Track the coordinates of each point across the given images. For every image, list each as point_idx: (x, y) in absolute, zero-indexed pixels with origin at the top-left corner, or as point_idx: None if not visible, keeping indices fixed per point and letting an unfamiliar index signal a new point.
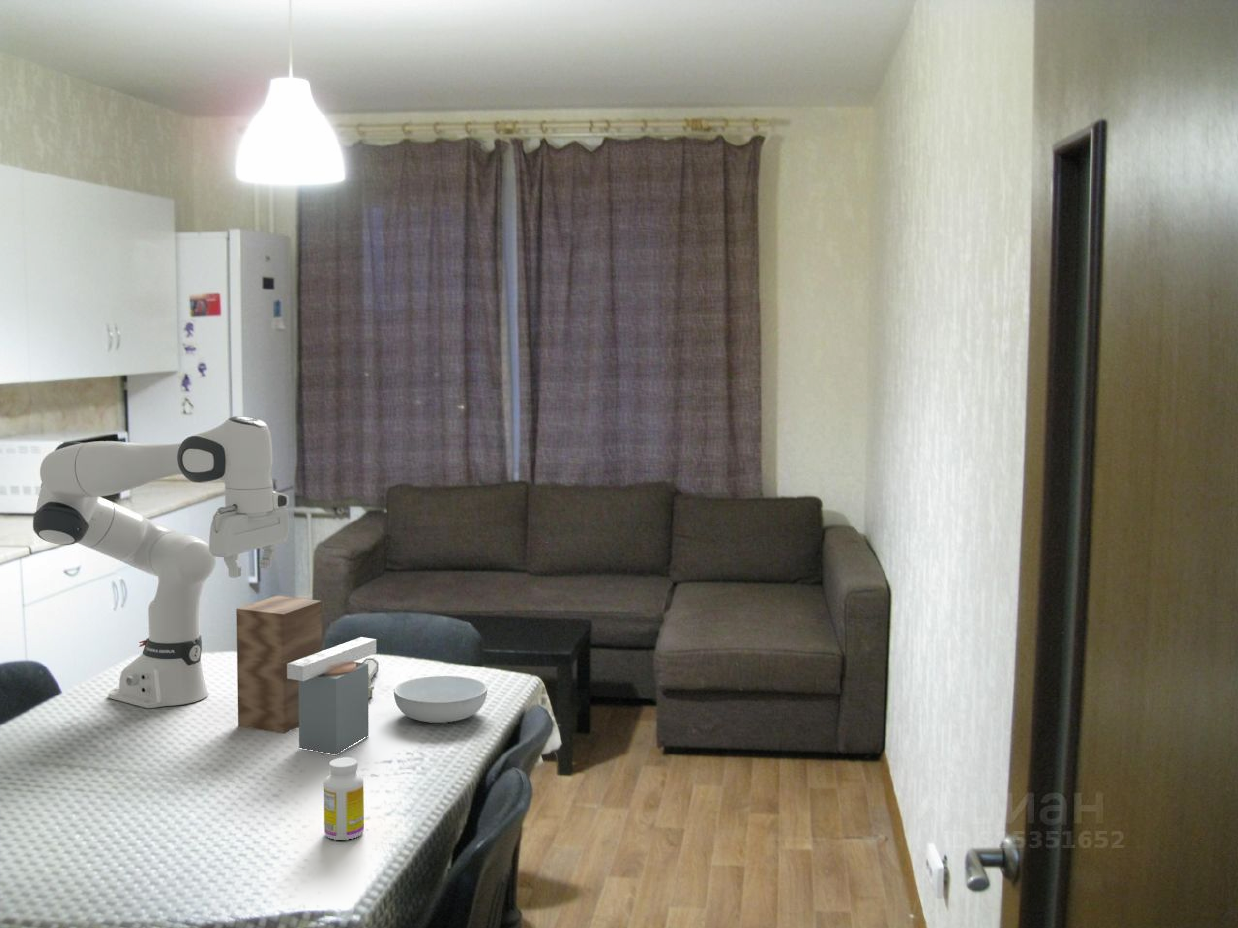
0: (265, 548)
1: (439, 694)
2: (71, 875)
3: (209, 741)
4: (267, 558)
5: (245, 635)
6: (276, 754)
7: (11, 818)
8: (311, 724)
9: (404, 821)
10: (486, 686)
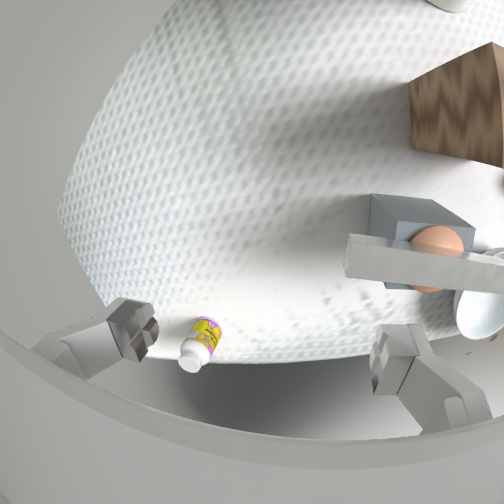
0: (431, 422)
1: None
2: (85, 202)
3: (351, 78)
4: (402, 386)
5: (468, 72)
6: (347, 177)
7: (115, 82)
8: (376, 220)
9: (247, 352)
10: (496, 331)
